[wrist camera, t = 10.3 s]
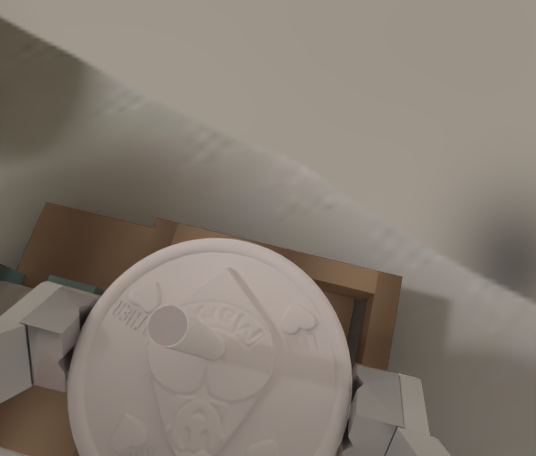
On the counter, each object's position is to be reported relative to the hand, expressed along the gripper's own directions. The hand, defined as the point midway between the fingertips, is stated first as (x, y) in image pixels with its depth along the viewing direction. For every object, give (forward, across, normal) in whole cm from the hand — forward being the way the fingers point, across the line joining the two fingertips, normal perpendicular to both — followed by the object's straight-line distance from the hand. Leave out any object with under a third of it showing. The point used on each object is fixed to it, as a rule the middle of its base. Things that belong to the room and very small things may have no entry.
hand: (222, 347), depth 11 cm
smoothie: (+6, 0, +7) cm, 9 cm away
